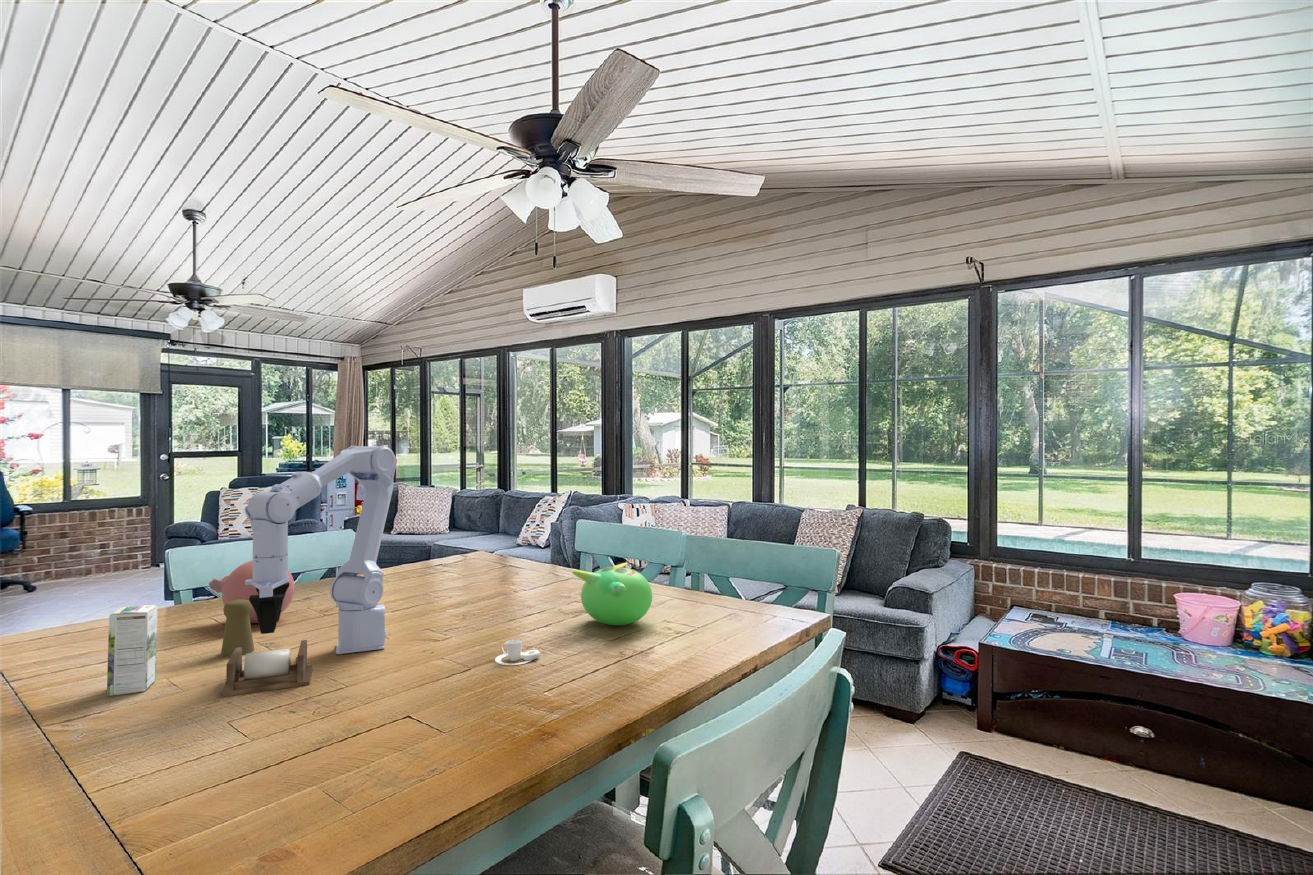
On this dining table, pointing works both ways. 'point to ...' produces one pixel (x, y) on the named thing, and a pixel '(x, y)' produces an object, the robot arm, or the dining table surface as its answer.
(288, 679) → the holder
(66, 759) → the dining table surface
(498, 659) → the teacup and saucer
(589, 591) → the toy bird
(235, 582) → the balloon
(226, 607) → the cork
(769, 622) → the dining table surface
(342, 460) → the robot arm
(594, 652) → the dining table surface
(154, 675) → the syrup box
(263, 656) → the roll
